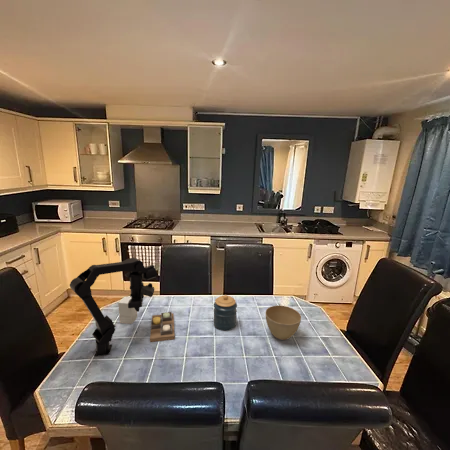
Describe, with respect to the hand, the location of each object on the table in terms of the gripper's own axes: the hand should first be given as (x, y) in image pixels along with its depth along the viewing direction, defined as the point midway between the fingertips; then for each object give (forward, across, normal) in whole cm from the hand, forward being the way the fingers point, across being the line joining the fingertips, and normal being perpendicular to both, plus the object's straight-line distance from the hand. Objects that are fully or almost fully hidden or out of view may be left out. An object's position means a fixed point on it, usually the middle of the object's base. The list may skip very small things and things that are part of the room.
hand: (137, 311), depth 129 cm
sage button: (+11, +8, -14) cm, 20 cm away
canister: (+13, 0, -46) cm, 48 cm away
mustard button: (+9, +2, -9) cm, 13 cm away
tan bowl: (+13, -15, -73) cm, 76 cm away
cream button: (+11, -4, -14) cm, 18 cm away
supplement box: (+13, +14, +7) cm, 21 cm away
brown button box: (+13, +2, -12) cm, 18 cm away
